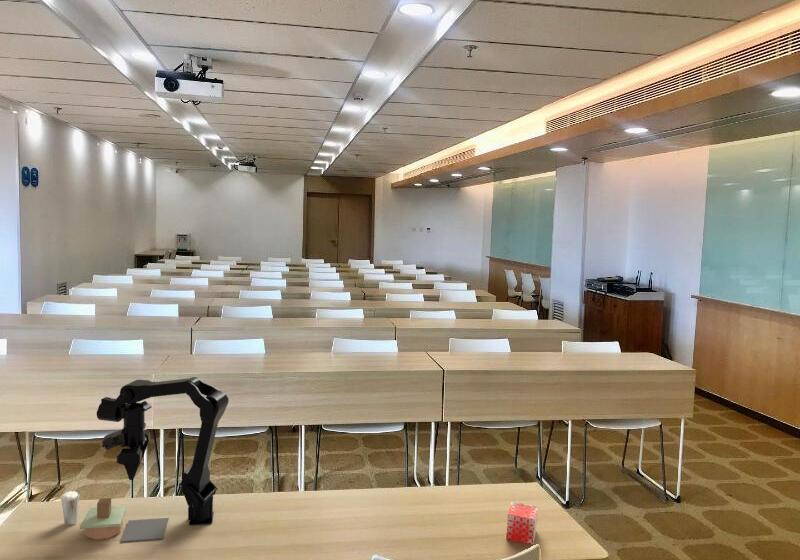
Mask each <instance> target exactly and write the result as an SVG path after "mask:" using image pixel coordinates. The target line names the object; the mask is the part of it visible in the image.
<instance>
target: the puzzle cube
mask: <svg viewBox="0 0 800 560" xmlns="http://www.w3.org/2000/svg"><path fill="white" fill-rule="evenodd" d="M538 510H539V506H535V505H530V504H525V503H519V502H516V501H515V502H514V501H511V503H510V506H509V510H508V513H507V523H506V524H507V525H506V537H505V539H506V540H511V541H515V542H519V543H524V544H529V545H534V541H535V538H536V533H537V525H538V513H539V511H538Z"/></svg>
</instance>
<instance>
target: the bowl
mask: <svg viewBox="0 0 800 560" xmlns="http://www.w3.org/2000/svg"><path fill="white" fill-rule="evenodd" d="M123 525H124V518H123V519H122V522H121V524H120V526H116V527H102V528H87V529H85V536H87V537H89V538H90V539H92V540H96V541H97V540H98V541H101V540H107V539H110V538H113V537H115V536H117V535H118V534H119V533H121V531H122V530H123V529H122V528H123Z"/></svg>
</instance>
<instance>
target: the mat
mask: <svg viewBox="0 0 800 560" xmlns="http://www.w3.org/2000/svg"><path fill="white" fill-rule="evenodd" d="M168 523H169V517H160V518H145V519H133V520H131V519H130V520H128V522H127V524H126V525H125V529H124V532H123V535H122V537H121V539H120V544H121V543H133V542H135V543H136V542H144V541H146V542H147V541H158V540H164V538H165V533H166V530H167V526H168Z"/></svg>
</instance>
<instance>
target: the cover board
mask: <svg viewBox="0 0 800 560" xmlns="http://www.w3.org/2000/svg"><path fill="white" fill-rule="evenodd" d="M127 510H128V505H116V506H113V505H112V497H107V498H105V497H103V498H99V499H98V501H97V503H96V507H89V509H88V511H87V512H86V514H85V516H84V518H83V520H82V522H81V524H80V526H79V530H83V529H85V530H86V529H87V528H102V527H116V526H120V524H121V522H122V519H123V520H124V517H125V515H126V512H127Z"/></svg>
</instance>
